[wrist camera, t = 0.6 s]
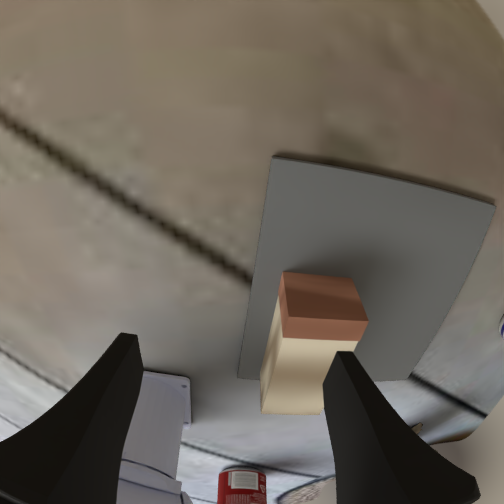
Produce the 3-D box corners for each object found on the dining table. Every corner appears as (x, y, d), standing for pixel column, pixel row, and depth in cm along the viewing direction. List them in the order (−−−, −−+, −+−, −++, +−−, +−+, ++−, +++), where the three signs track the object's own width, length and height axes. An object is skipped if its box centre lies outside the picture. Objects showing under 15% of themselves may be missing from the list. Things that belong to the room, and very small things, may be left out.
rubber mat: (404, 375, 27) (406, 379, 27) (237, 373, 26) (237, 378, 26) (492, 203, 18) (496, 206, 18) (272, 156, 17) (272, 158, 16)
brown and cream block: (313, 374, 26) (320, 415, 22) (259, 372, 25) (260, 414, 22) (351, 278, 20) (369, 321, 17) (282, 271, 20) (288, 316, 17)
